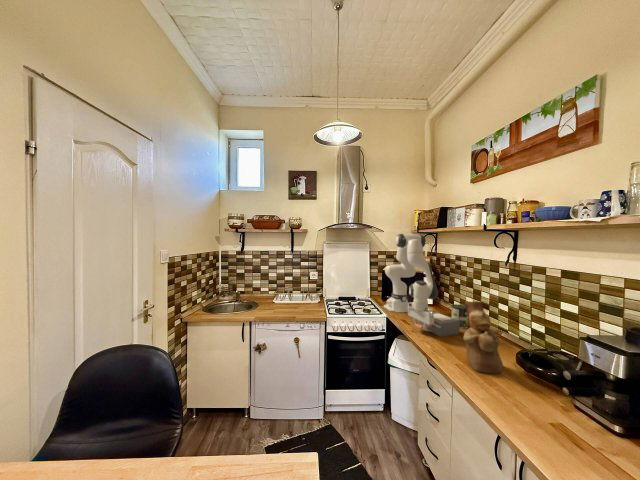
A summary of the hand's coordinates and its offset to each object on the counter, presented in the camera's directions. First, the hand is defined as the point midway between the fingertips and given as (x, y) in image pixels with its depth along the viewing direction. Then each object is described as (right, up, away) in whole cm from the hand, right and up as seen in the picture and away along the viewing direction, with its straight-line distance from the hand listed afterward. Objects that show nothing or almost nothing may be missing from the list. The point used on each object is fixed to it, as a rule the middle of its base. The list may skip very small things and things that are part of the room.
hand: (420, 327), depth 163 cm
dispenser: (+15, -4, +5) cm, 16 cm away
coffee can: (+33, -4, +13) cm, 36 cm away
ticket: (+7, 0, +3) cm, 8 cm away
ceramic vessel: (+15, -5, -38) cm, 41 cm away
